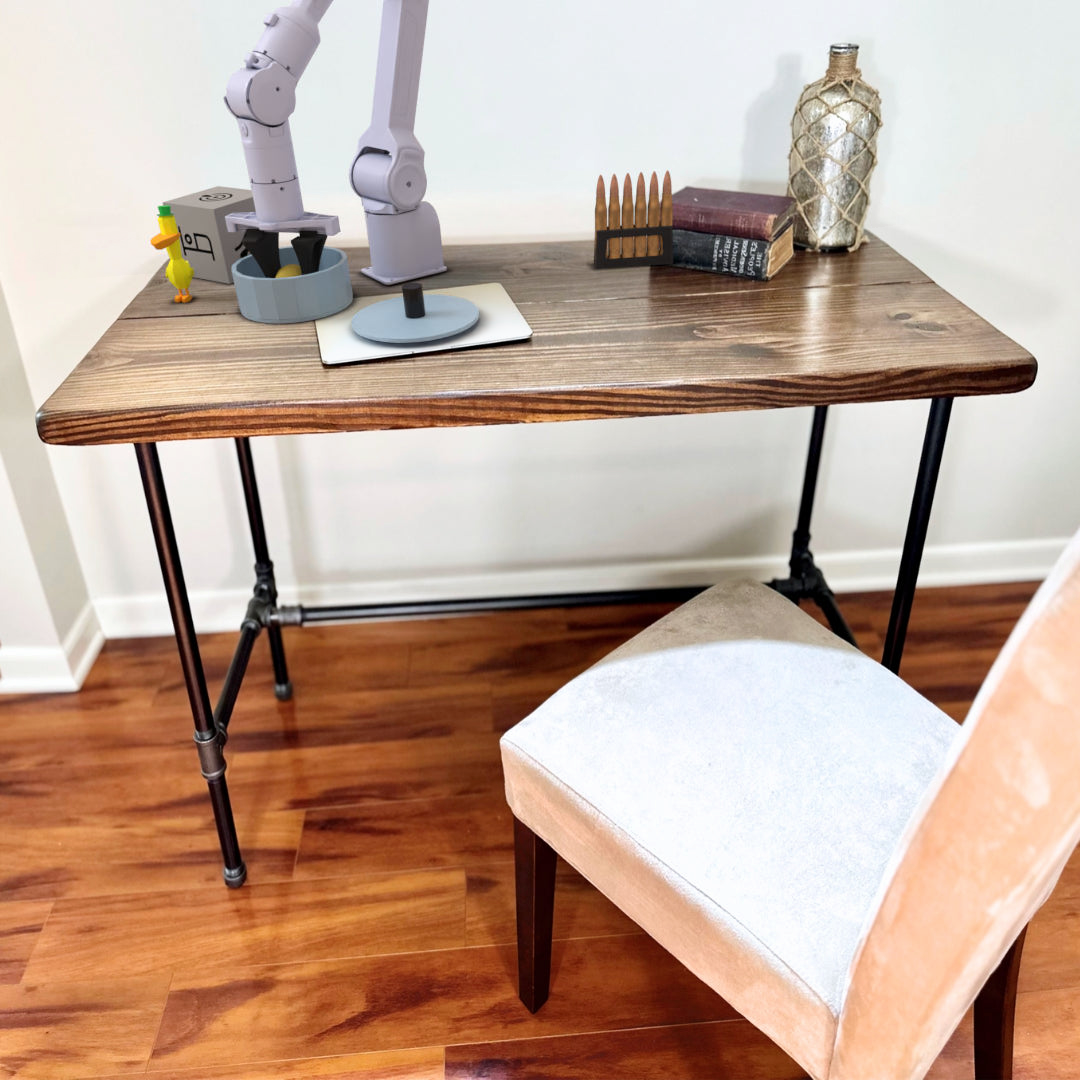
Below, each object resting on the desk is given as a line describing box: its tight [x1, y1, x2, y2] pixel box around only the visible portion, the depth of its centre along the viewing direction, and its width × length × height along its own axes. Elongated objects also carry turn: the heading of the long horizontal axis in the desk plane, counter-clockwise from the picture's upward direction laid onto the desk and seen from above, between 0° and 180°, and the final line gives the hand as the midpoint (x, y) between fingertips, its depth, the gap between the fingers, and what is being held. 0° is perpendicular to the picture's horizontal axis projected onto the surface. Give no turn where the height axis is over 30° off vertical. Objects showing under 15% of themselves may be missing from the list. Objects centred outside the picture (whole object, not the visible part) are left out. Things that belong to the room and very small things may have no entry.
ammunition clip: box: [593, 169, 674, 270], centre depth 129 cm, size 11×2×12 cm, turn 95°
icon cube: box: [162, 185, 256, 285], centre depth 136 cm, size 10×10×10 cm
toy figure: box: [150, 205, 194, 304], centre depth 125 cm, size 7×4×12 cm, turn 170°
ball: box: [275, 264, 302, 278], centre depth 123 cm, size 5×5×5 cm
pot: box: [232, 245, 354, 324], centre depth 123 cm, size 14×14×6 cm
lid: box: [351, 282, 480, 344], centre depth 115 cm, size 15×15×5 cm
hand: (294, 289), depth 124 cm, fingers closed on ball, 4 cm apart
